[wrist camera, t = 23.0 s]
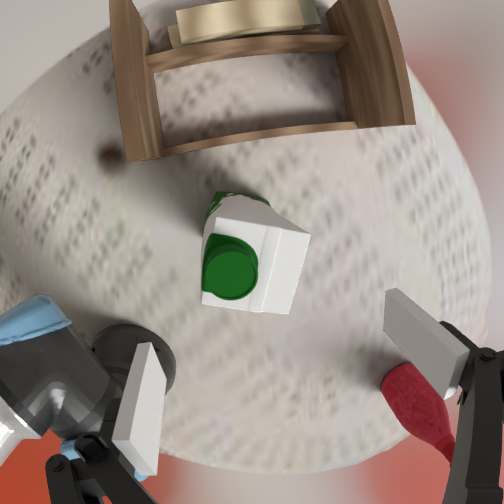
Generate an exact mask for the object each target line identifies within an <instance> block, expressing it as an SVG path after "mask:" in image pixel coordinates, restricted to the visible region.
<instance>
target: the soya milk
mask: <svg viewBox="0 0 504 504" xmlns="http://www.w3.org/2000/svg"><path fill="white" fill-rule="evenodd" d="M310 236H311V234H310V233H308V232H306V231H304V230H303V229H301V228H300V227H298V226H296V225H295V224H293V223H292V222H290V221H288V220H287V219H285V218H284V217H282V216H280V215H279V214H278V213H277V212H275V211H274V210H273V209H272V208H271V206H270V204H269V202H268V201H266V200H264V199H261V198H259V197H254V196H249V195H244V194H238V193H229V192H216V195H215V197H214V199H213V201H212V203H211V205H210V208H209V210H208V213H207V217H206V220H205V225H204V230H203V240H202V250H201V303H202V304H206V305H212V306H218V307H225V308H232V309H239V310H246V311H250V312H257V313H261V312H270V313H279V314H289V311H290V308H291V304H292V301H293V298H294V294H295V291H296V287H297V284H298V280H299V277H300V273H301V270H302V266H303V262H304V259H305V255H306V251H307V248H308V244H309V240H310Z"/></svg>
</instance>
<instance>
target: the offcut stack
mask: <svg viewBox="0 0 504 504" xmlns="http://www.w3.org/2000/svg"><path fill="white" fill-rule="evenodd" d="M176 15H177V21H178V24H175V25H172V26H168V27H167V29H168V33H169V37H170V41H171V45H172V49H178V48H183V47H188V46H193V45H198V44H204V43H210V42H217V41H224V40H232V39H240V38H250V37H262V36H278V35H317V34H318V33H319V32H320V29H319V26H320V25H321V24H322V23H321V20H320V18H319V15H318V13H317V10H316V8H315V5H314V3H313V1H312V0H234V1H226V2H219V3H213V4H207V5H202V6H196V7H191V8H186V9H182V10H177V11H176Z"/></svg>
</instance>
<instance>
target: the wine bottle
mask: <svg viewBox="0 0 504 504" xmlns="http://www.w3.org/2000/svg"><path fill="white" fill-rule="evenodd" d="M381 391H382V394H383V396H384V397H385V399H386V401H387V403H388V404H389V406H390V407H391V409H392V411H393V412H394V414H395V416H396V417H397V419H398V420H399V422H400V423H401V424H402V426H403V427H404V428H405V429H406V430H407V431H408V432H410V433H411V434H413V435H414V436H415V437H417V438H419V439H421V440H423V441H425V442H427V443H429V444H431V445H433V446H434V447H435V448H436V449H437V450H439V451H440V452H441V453H442V454H443V455H444V456H445V457H446V459H447V460H448V461H449V462H450V469H451V464H452V459H453V454H454V448H455V441H454V437H453V436H452V434H451V429H450V423H449V417H448V412H447V408H446V405H445V402H444V400H443V399H442V397H441V396H440V395H439V394H438V393H437V391H436V390H435V389H434V388H433V387H432V386H431V384H430V383H429V382H428V381H427V380H426V378H425V377H424V376H423V375H422V374H421V373H420V371H419V370H418V369H417V368H416V367H415V366H414V365H413V364H410V363H406V364H402V365H400V366H398V367H396V368H394V369H393V370H392V371H391V372H390V373H389V374H388V375H387V376H386V377H385V379H384V380H383V382H382V386H381Z"/></svg>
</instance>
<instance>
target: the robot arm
mask: <svg viewBox="0 0 504 504" xmlns="http://www.w3.org/2000/svg"><path fill="white" fill-rule="evenodd" d="M383 331H384V332H385V333H386V334H387V335H388V336H389V337H390V338H391V340H392V341H393V342H394V343H395V344H396V345H397V346H398V347H399V349H400V350H401V351H402V352H403V353H404V354H405V355H406V357H407V358H408V359H409V360H410V361H411V362H412V363H413V365H414V366H415V367H416V368H417V369H418V370H419V371H420V373H421V374H422V375H423V376H424V377H425V378H426V380H427V381H428V382H429V383H430V384H431V386H432V387H433V388H434V389H435V390H436V391H437V393H438V394H439V395H440V396H441V397H442V399H443V400H445V399H447V398H448V397H450V396H452V395H454V394H455V393H456V391H457V388H458V385H459V386H460V387H461V388H462V392H461V395H460V397H459V400H458V402H457V404H459V403H460V410H459V420H458V428H457V435H456V442H455V448H454V454H453V459H452V464H451V470H450V474H449V479H448V483H447V487H446V491H445V495H444V499H443V502H442V504H502V500H503V489H502V488H500V487H499V475H500V466H501V453H502V420H503V423H504V350H503V351H500V352H496V351H495V350H493V349H491V348H487V347H484V348H479V347H477V346H476V345H475V344H474V343H473V342H472V341H470V340H469V339H468V338H467V337H466V336H465V335H462V333H461V332H460V331H459V330H457V329H456V328H455V327H454V326H453V325H452V324H449V323H447V322H445V321H441V322H437V321H436V320H435V319H434V318H433V317H431V316H430V315H429V314H428V313H427V312H426V311H424V310H423V309H422V308H421V307H420V306H418V305H417V304H416V303H415V302H413V301H412V300H411V299H410V298H409V297H407V296H406V295H405V294H404V293H402V292H401V291H400V290H399V289H397V288H393V289H390V290H387V291H385V311H384V326H383ZM175 373H176V361H175V357H174V355H173V353H172V351H171V349H170V348H169V346H168V345H167V344H166V343H165V342H164V341H163V340H162V339H161V338H160V337H158V336H157V335H155V334H154V333H152V332H150V331H148V330H146V329H144V328H141V327H137V326H133V325H115V326H111V327H108V328H106V329H104V330H103V331H102V332H100V333H99V334H98V336H97V337H96V339H95V340H94V342H93V344H92V346H91V349H90V348H89V346H88V345H87V344H86V342H85V341H84V340H83V339H82V337H81V336H80V335H79V333H78V332H77V330H76V329H75V328H74V326H73V325H72V321H71V320H70V319H69V318H67V317H66V315H65V314H64V313H63V312H62V310H61V309H60V308H59V306H58V305H57V304H56V302H55V301H54V300H53V299H52V298H51V297H49V296H47V295H43V294H41V295H36V296H34V297H32V298H30V299H28V300H26V301H24V302H22V303H20V304H18V305H17V306H15V307H13V308H12V309H10V310H8V311H7V312H5V313H4V314H2V315H0V466H1V465H2V464H3V462H4V461H5V460H6V458H7V457H8V456H9V455H10V453H11V452H12V451H13V450H14V448H15V447H16V446H17V445H18V443H19V442H20V441H21V440H22V439H25V438H30V439H41V437H42V436H43V435H44V434H45V433H46V431H47V430H48V429H50V430H51V431H53V432H54V433H55V434H56V435H57V436H58V437H59V438H60V439H61V440H62V441H63V443H62V444H61V445H60V454H56V455H53V456H51V457H50V458H49V460H47V462H46V467H45V470H46V477H47V483H48V489H49V494H50V499H51V504H104V502H103V499H102V496H107V497H108V498H109V499H110V501H111V502H112V504H159V503H158V502H157V501H156V500H155V499H154V498H153V497H152V496H151V495H150V494H149V493H148V492H147V490H146V489H145V488H144V487H143V486H142V485H141V484H140V483H139V482H140V481H142V480H144V479H146V478H147V477H148V476H149V475H157V465H158V454H159V443H160V433H161V423H162V414H163V405H164V397H165V395H166V394H167V392H168V391H169V389H170V388H171V387H172V385H173V382H174V379H175Z"/></svg>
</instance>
